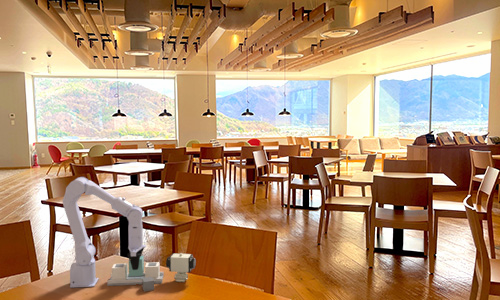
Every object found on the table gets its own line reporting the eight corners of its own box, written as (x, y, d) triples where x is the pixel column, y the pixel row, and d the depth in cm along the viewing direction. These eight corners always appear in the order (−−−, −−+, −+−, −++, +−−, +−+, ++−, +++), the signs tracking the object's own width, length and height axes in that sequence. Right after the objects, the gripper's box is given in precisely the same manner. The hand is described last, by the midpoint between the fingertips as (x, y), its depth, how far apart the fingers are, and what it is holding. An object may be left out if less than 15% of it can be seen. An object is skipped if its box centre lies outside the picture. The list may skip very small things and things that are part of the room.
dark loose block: (143, 291, 159) (143, 282, 158) (142, 287, 162) (142, 278, 162) (154, 290, 160) (153, 280, 160) (152, 286, 164) (152, 276, 163)
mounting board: (107, 285, 163) (106, 269, 163) (112, 276, 173) (111, 261, 173) (161, 283, 166) (161, 267, 166) (163, 274, 176) (163, 259, 176)
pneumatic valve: (193, 283, 166) (193, 255, 165) (166, 282, 168) (165, 254, 167) (196, 278, 172) (196, 251, 171) (170, 276, 173) (169, 249, 172)
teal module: (128, 276, 167) (128, 259, 166) (130, 271, 171) (130, 255, 170) (142, 275, 167) (142, 258, 167) (143, 271, 172) (143, 255, 171)
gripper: (143, 240, 161) (143, 273, 162) (147, 230, 175) (147, 260, 177) (125, 241, 160) (125, 274, 161) (130, 231, 174) (131, 261, 176)
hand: (136, 267), depth 169 cm, fingers closed on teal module, 4 cm apart
